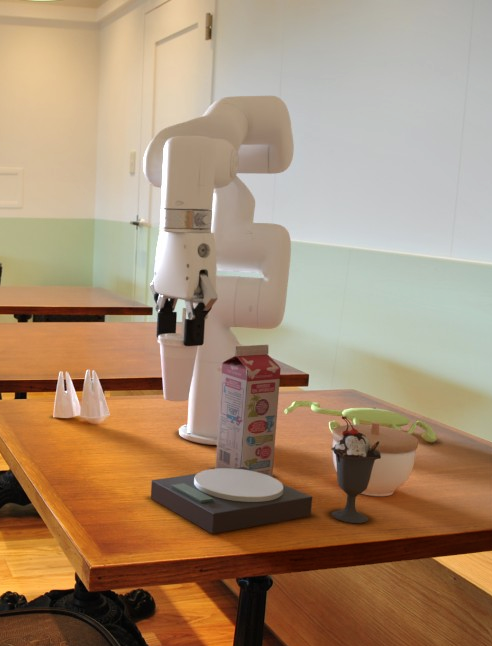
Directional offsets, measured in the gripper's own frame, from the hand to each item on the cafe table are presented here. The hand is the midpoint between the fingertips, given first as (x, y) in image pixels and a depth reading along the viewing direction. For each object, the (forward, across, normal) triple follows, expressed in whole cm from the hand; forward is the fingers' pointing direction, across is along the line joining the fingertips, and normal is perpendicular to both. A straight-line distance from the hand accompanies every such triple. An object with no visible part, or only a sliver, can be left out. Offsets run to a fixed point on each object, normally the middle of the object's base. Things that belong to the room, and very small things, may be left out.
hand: (179, 340), depth 126 cm
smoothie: (+9, 0, 0) cm, 9 cm away
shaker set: (+25, +44, -8) cm, 51 cm away
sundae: (+25, -18, -19) cm, 36 cm away
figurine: (+25, +16, -55) cm, 63 cm away
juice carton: (+25, +4, -18) cm, 31 cm away
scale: (+24, -8, -5) cm, 26 cm away
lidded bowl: (+25, -9, -32) cm, 42 cm away
